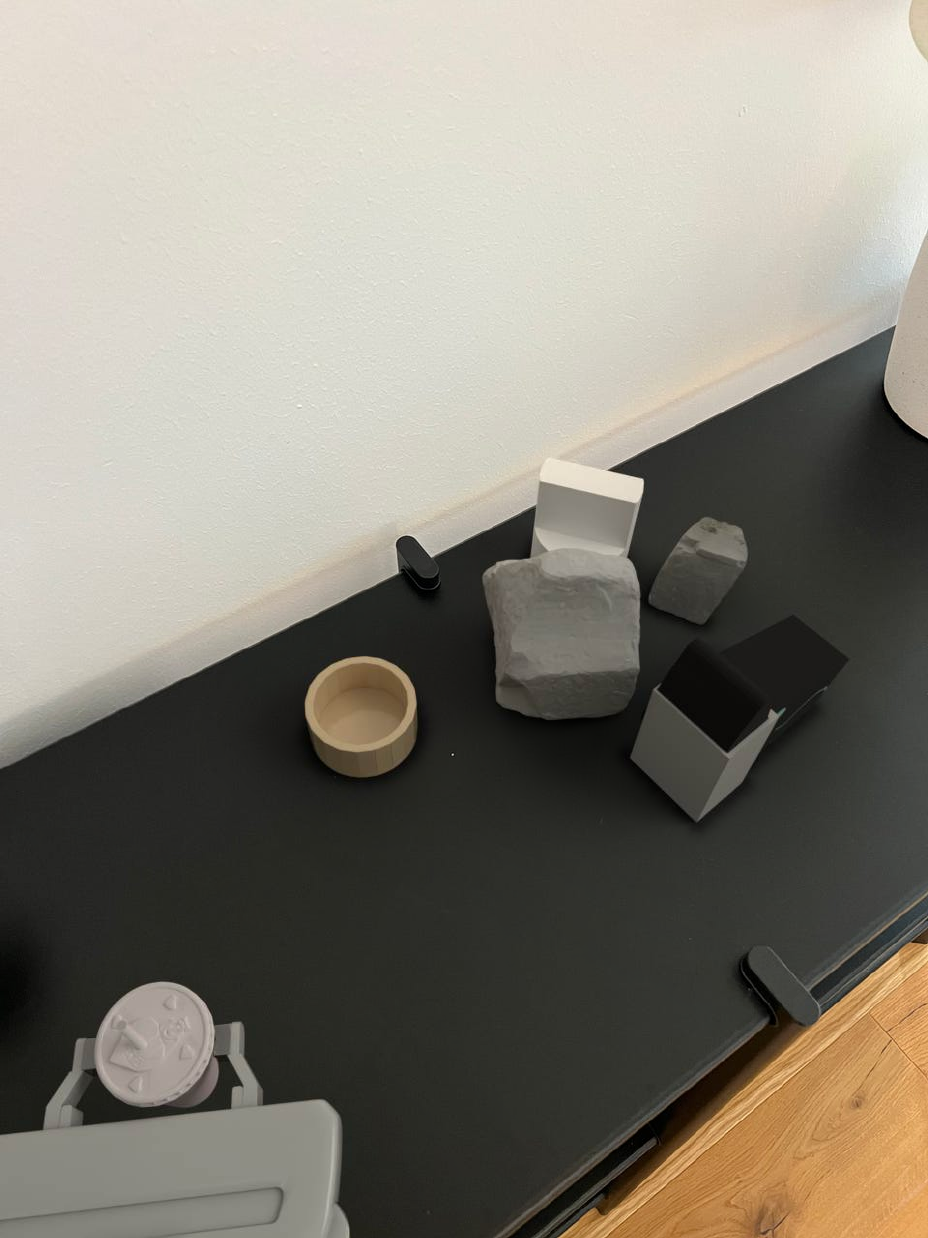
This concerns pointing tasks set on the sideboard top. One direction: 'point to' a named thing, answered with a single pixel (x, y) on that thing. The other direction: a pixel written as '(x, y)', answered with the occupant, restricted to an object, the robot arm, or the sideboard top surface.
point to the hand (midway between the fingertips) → (161, 1032)
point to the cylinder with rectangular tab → (585, 509)
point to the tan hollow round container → (362, 716)
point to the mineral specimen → (700, 570)
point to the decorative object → (729, 709)
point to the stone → (565, 633)
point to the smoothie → (158, 1047)
